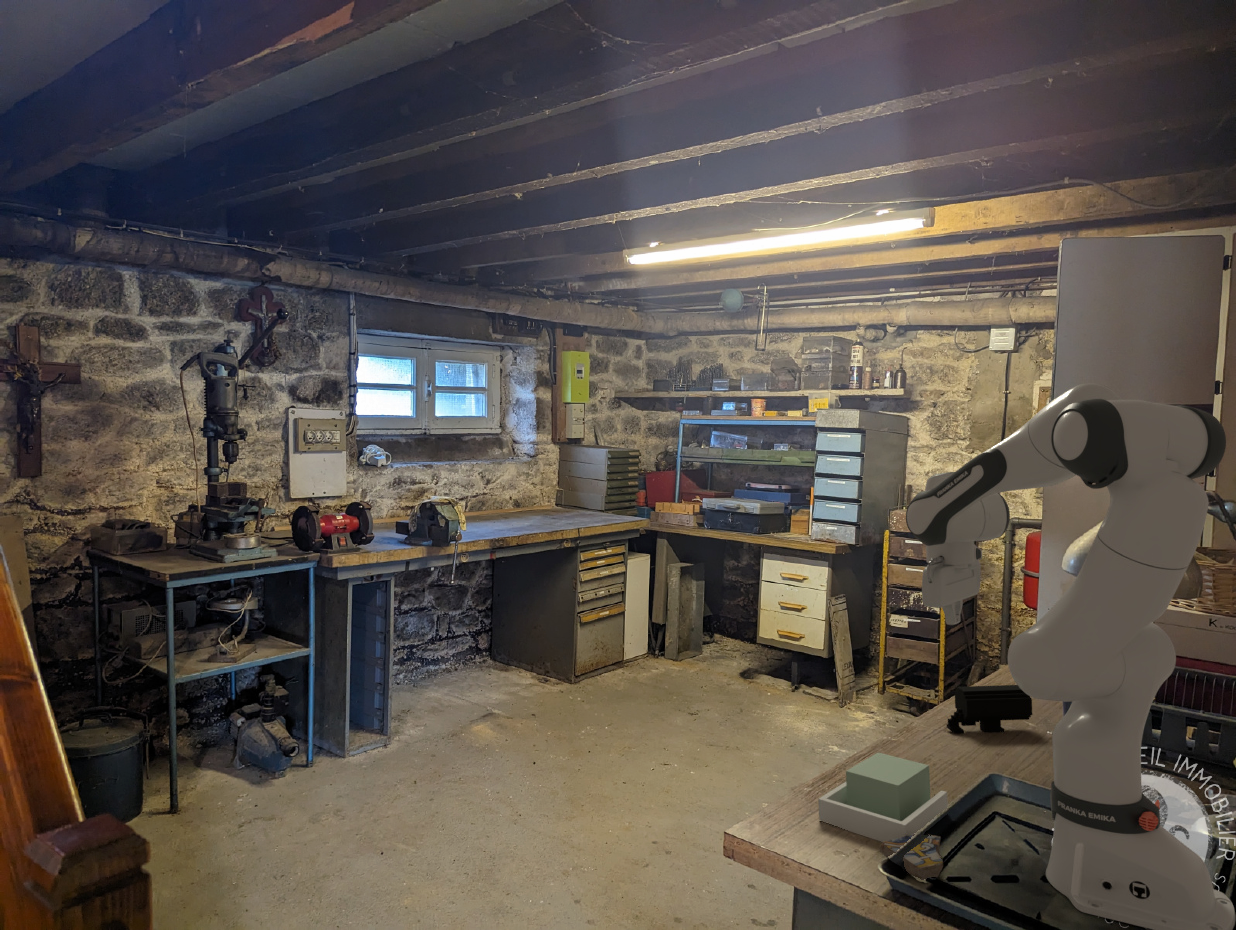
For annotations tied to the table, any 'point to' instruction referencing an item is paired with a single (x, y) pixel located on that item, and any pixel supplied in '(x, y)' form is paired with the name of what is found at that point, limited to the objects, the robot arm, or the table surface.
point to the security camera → (989, 707)
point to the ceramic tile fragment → (917, 856)
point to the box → (876, 816)
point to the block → (888, 786)
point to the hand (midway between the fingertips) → (953, 623)
